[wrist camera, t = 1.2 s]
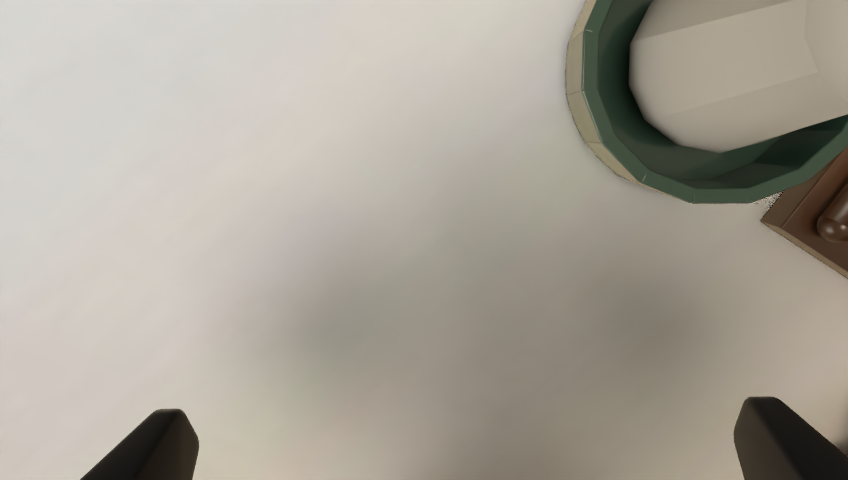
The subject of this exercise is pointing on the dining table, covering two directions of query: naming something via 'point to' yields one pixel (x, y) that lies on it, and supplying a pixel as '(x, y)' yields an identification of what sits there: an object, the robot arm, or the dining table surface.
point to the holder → (651, 150)
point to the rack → (817, 214)
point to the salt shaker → (739, 69)
